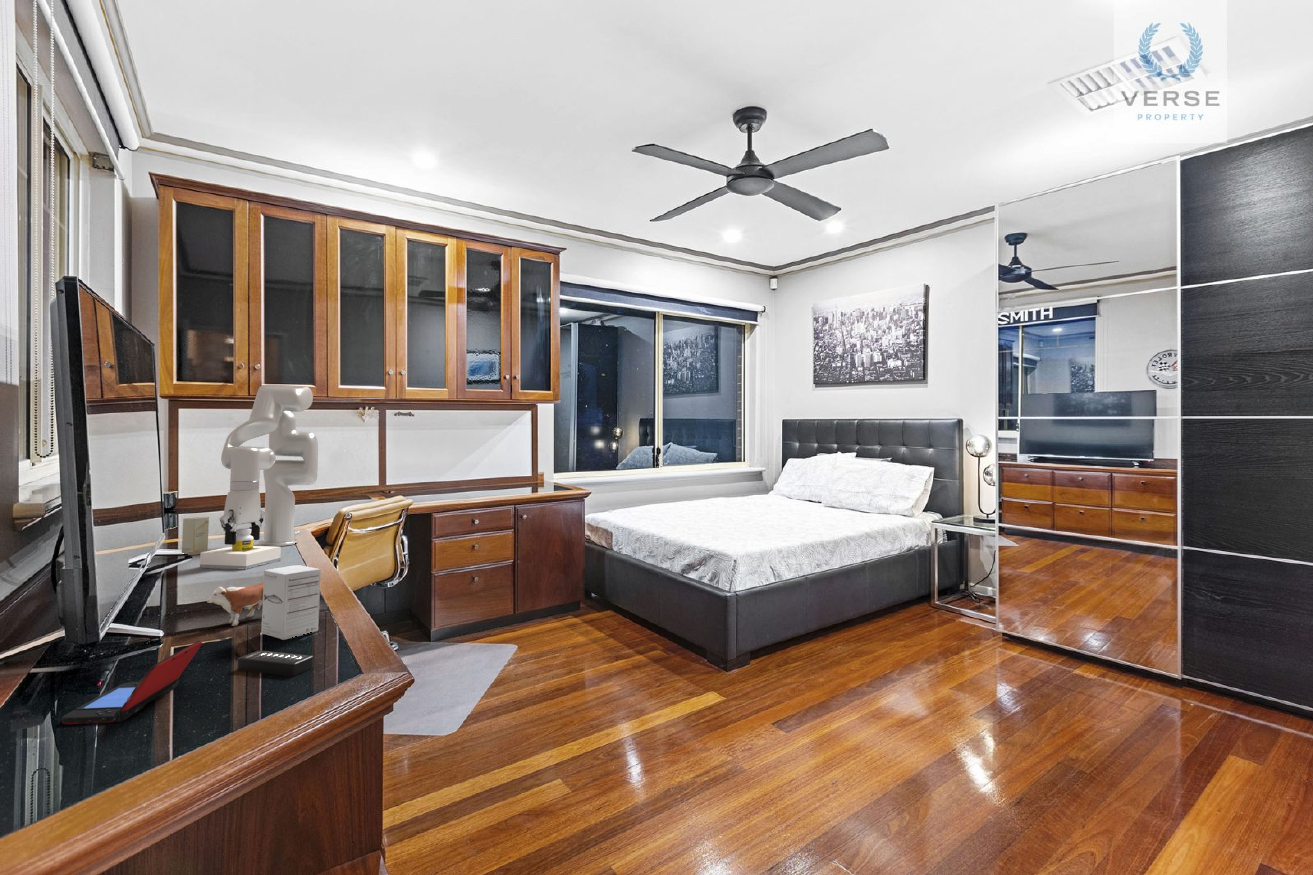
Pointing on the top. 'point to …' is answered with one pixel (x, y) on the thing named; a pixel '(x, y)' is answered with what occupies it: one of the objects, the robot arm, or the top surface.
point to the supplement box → (290, 601)
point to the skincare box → (195, 535)
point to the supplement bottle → (243, 540)
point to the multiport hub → (275, 663)
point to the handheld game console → (134, 691)
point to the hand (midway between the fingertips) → (242, 542)
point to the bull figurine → (238, 600)
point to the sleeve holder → (239, 557)
